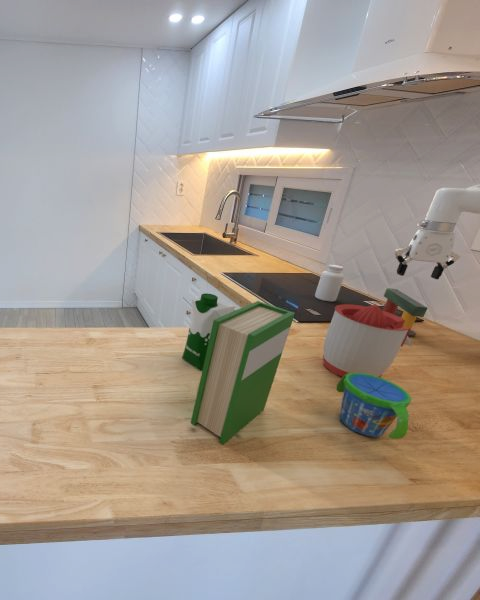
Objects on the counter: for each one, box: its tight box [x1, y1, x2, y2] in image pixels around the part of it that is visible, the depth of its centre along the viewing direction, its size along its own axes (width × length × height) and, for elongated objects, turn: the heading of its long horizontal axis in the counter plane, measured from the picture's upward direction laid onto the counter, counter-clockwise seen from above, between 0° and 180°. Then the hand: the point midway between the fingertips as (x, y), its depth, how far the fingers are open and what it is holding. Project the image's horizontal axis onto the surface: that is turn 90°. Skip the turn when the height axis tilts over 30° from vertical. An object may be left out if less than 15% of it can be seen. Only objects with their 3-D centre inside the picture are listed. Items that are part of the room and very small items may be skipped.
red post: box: [382, 298, 399, 315], centre depth 128 cm, size 7×7×8 cm
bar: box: [383, 287, 429, 318], centre depth 121 cm, size 3×20×3 cm, turn 161°
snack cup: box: [335, 373, 412, 440], centre depth 71 cm, size 16×10×10 cm
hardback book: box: [190, 300, 296, 446], centre depth 69 cm, size 18×7×24 cm, turn 129°
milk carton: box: [182, 292, 236, 372], centre depth 90 cm, size 9×9×20 cm
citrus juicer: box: [322, 303, 413, 378], centre depth 89 cm, size 16×17×20 cm
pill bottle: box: [314, 264, 345, 302], centre depth 146 cm, size 8×8×15 cm
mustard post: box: [400, 310, 418, 338], centre depth 118 cm, size 7×7×8 cm
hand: (417, 276), depth 117 cm, fingers open, 9 cm apart
